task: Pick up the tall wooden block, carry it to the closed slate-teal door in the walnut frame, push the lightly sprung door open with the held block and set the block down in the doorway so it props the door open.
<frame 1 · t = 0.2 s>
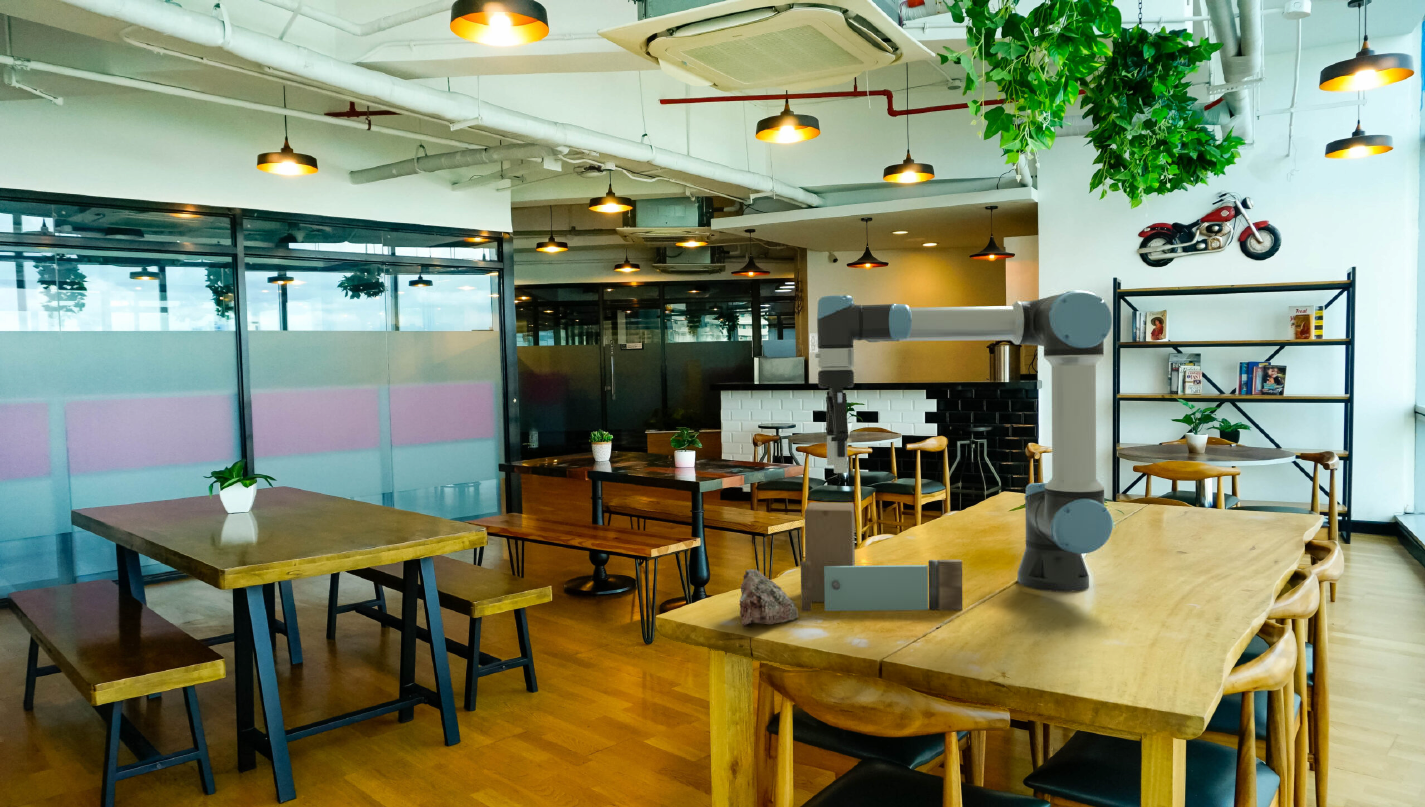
hand: (837, 469, 191), 28 cm above the table, fingers open, 13 cm apart
door: (876, 588, 183), point 4 cm above the table, hinge at 0.0°
rock: (764, 622, 178), on the table
doorframe: (933, 609, 184), on the table
wooden block: (830, 598, 194), on the table
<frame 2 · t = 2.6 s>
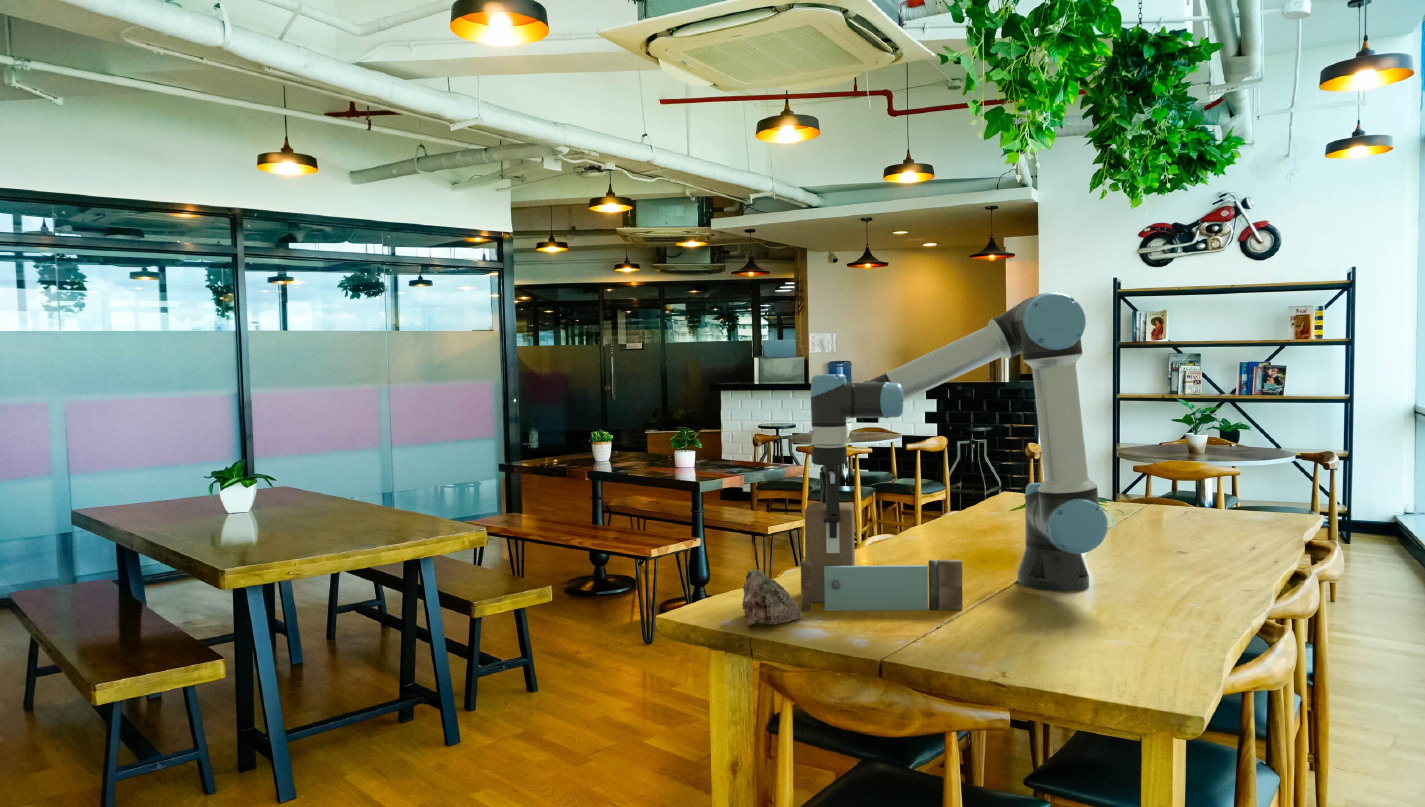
hand: (830, 547, 194), 11 cm above the table, fingers closed on wooden block, 11 cm apart
wooden block: (830, 598, 194), on the table, touching gripper
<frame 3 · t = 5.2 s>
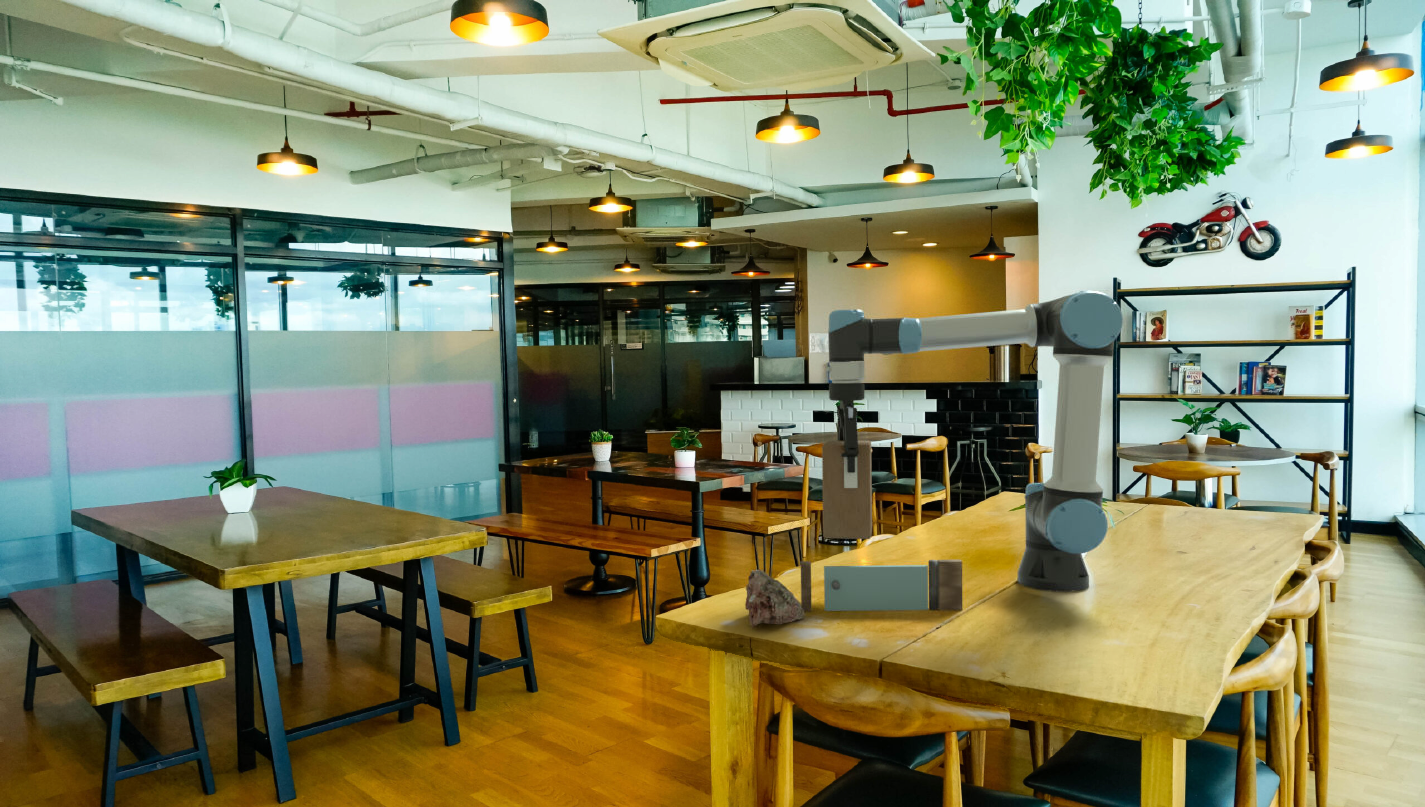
hand: (847, 484, 193), 25 cm above the table, fingers closed on wooden block, 11 cm apart
wooden block: (848, 535, 194), point 13 cm above the table, touching gripper
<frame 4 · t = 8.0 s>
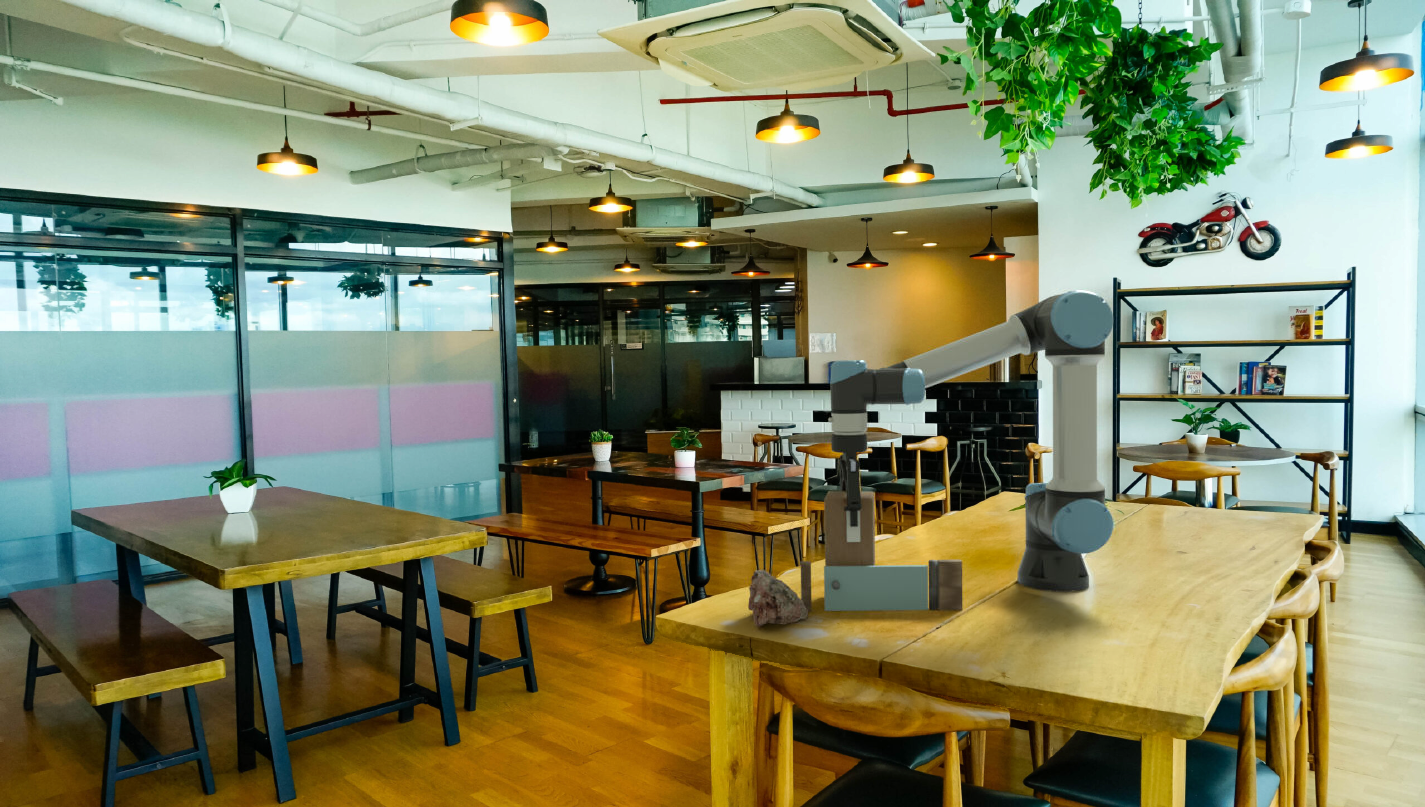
hand: (850, 536, 191), 14 cm above the table, fingers closed on wooden block, 11 cm apart
wooden block: (850, 588, 191), point 3 cm above the table, touching gripper
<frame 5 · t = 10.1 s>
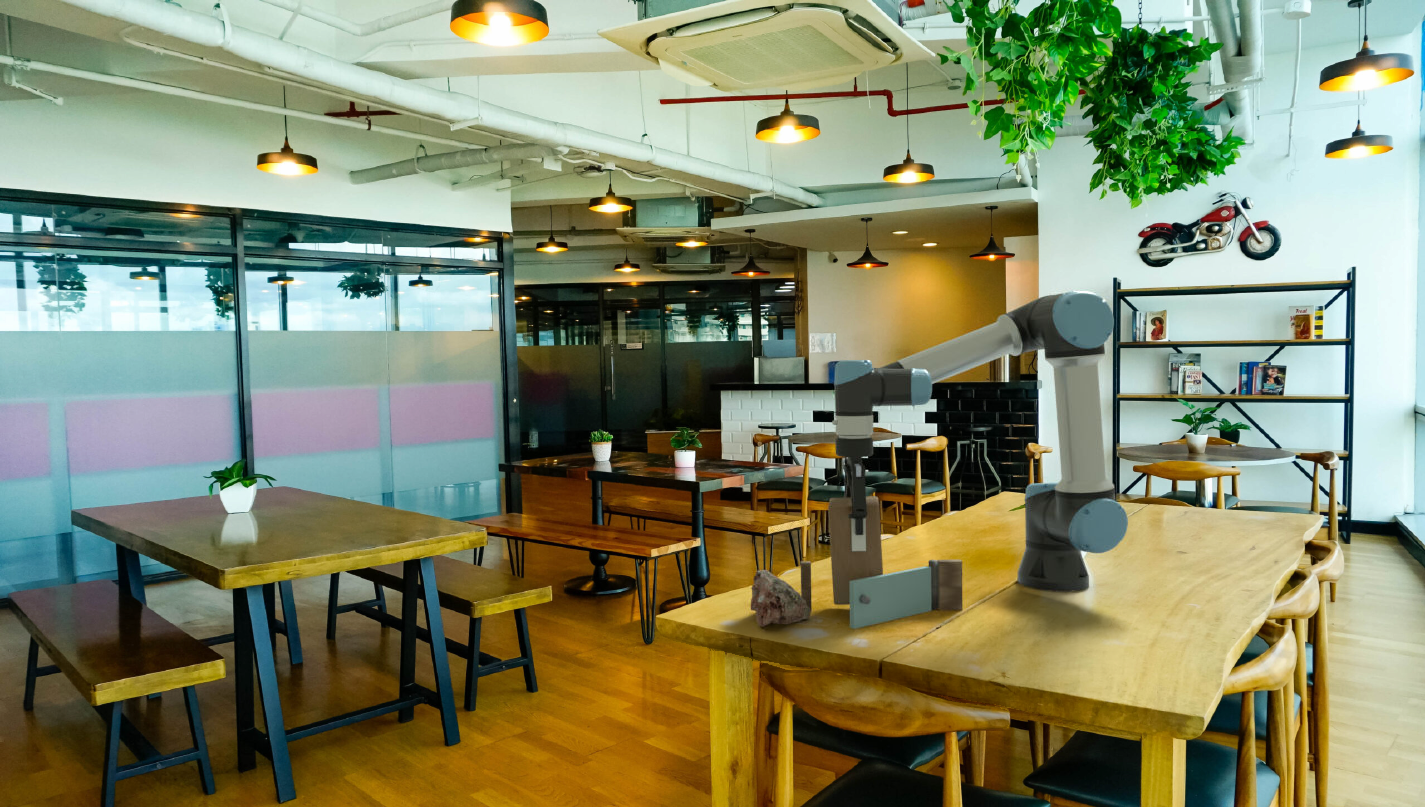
hand: (855, 544, 182), 14 cm above the table, fingers closed on wooden block, 10 cm apart
door: (894, 597, 177), point 5 cm above the table, hinge at 35.2°, touching wooden block
wooden block: (859, 599, 182), point 3 cm above the table, touching door, gripper
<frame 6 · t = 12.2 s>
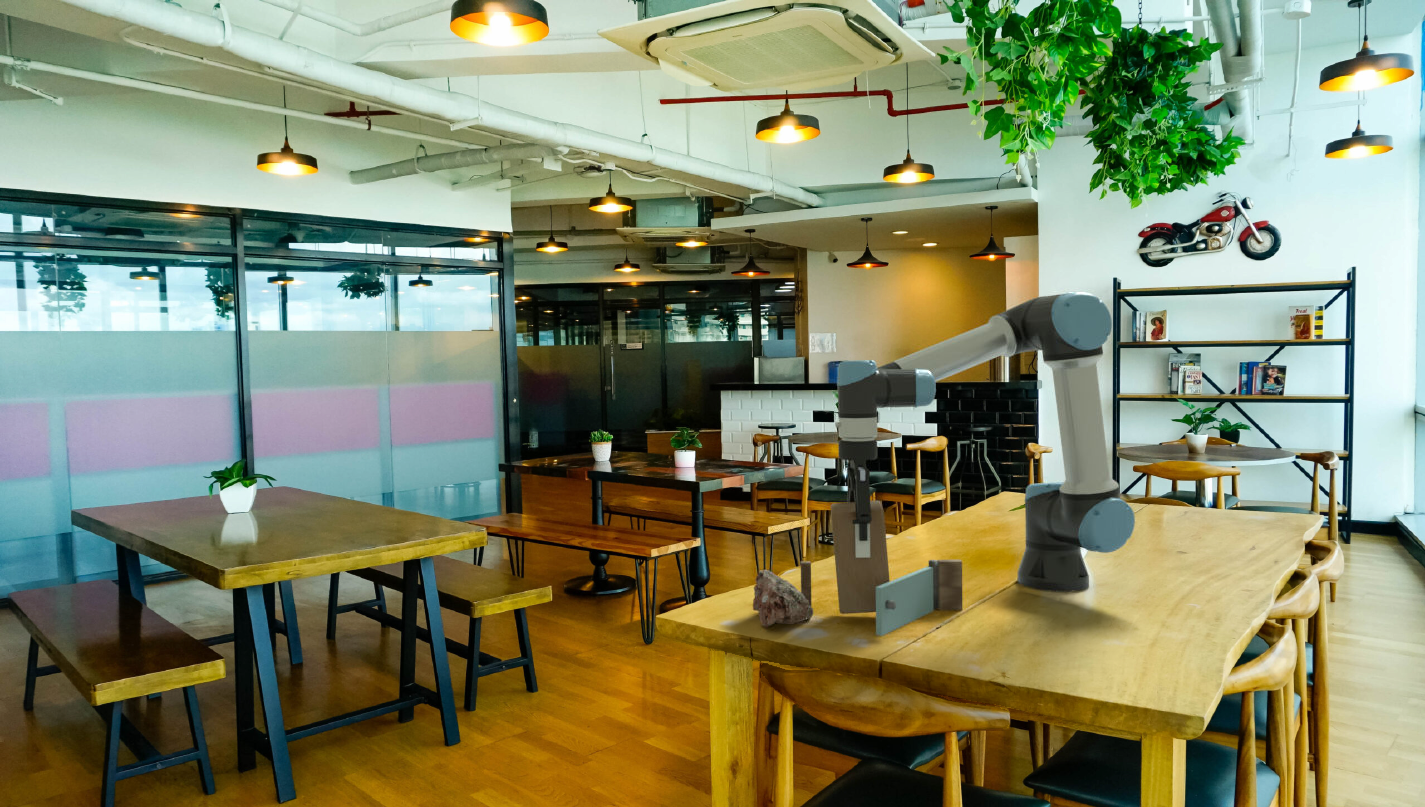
hand: (859, 551, 176), 14 cm above the table, fingers closed on wooden block, 10 cm apart
door: (909, 600, 174), point 5 cm above the table, hinge at 51.9°, touching wooden block
wooden block: (864, 606, 177), point 3 cm above the table, touching door, gripper
when the fingers open (14 cm above the table, at t = 13.5 s): wooden block drops 3 cm, on the table.
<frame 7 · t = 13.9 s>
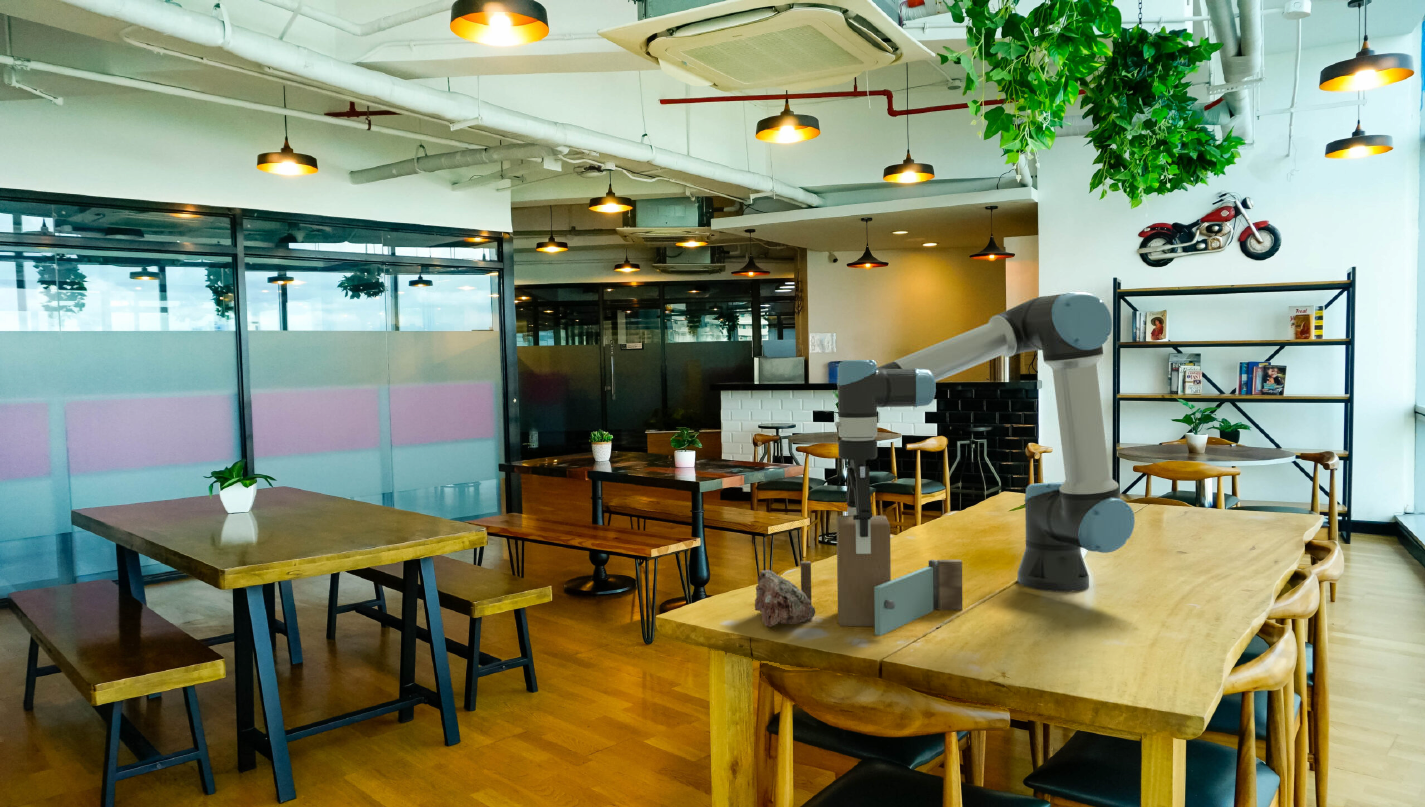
hand: (858, 546, 176), 15 cm above the table, fingers open, 13 cm apart
door: (908, 600, 174), point 5 cm above the table, hinge at 51.2°
wooden block: (863, 620, 177), on the table
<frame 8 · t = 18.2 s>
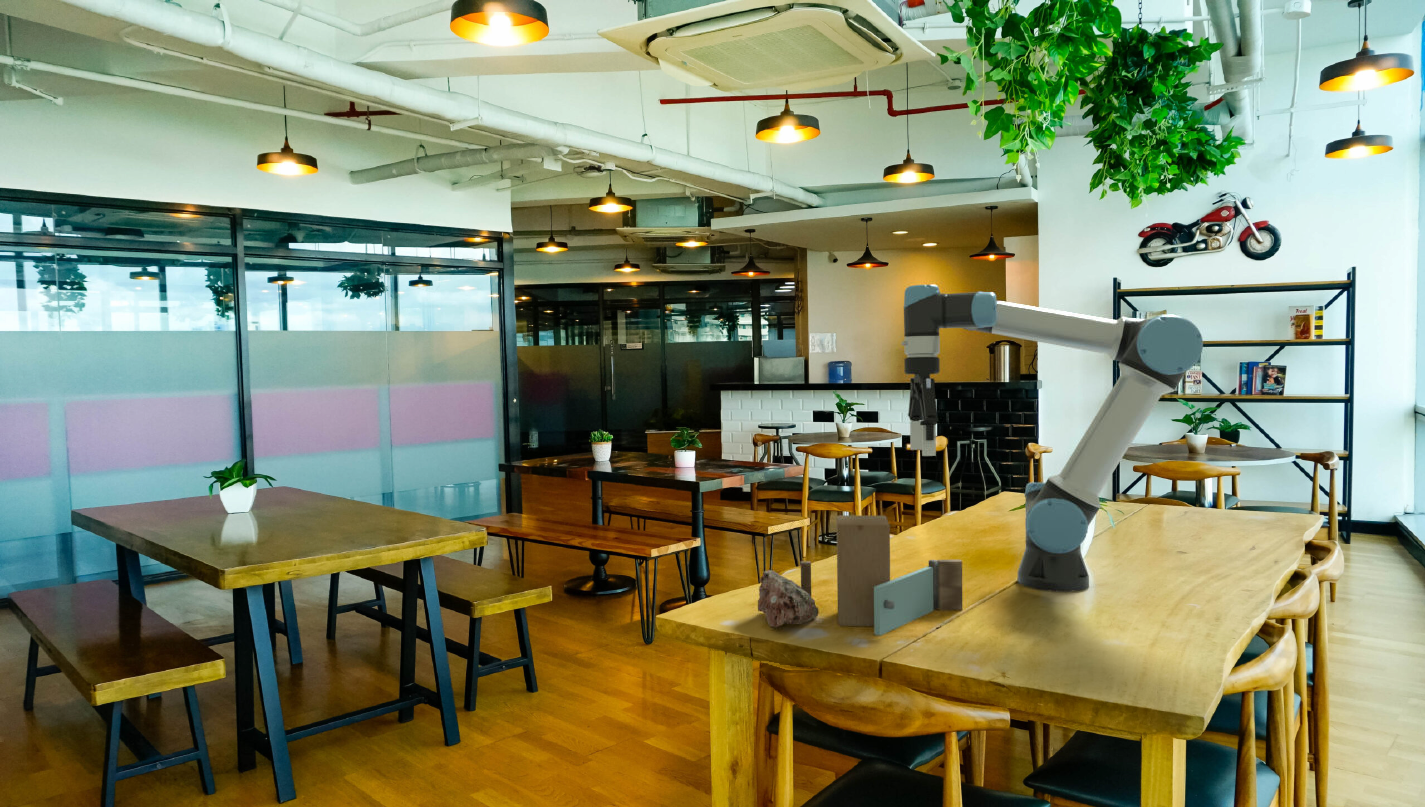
hand: (922, 452, 197), 31 cm above the table, fingers open, 13 cm apart
door: (908, 600, 174), point 5 cm above the table, hinge at 50.9°, touching wooden block
wooden block: (863, 620, 177), on the table, touching door
at the end: door at +51° (first picture: +0°); wooden block inside the target area (0.8 cm from its centre), on the table; wooden block tilted 0° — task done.
